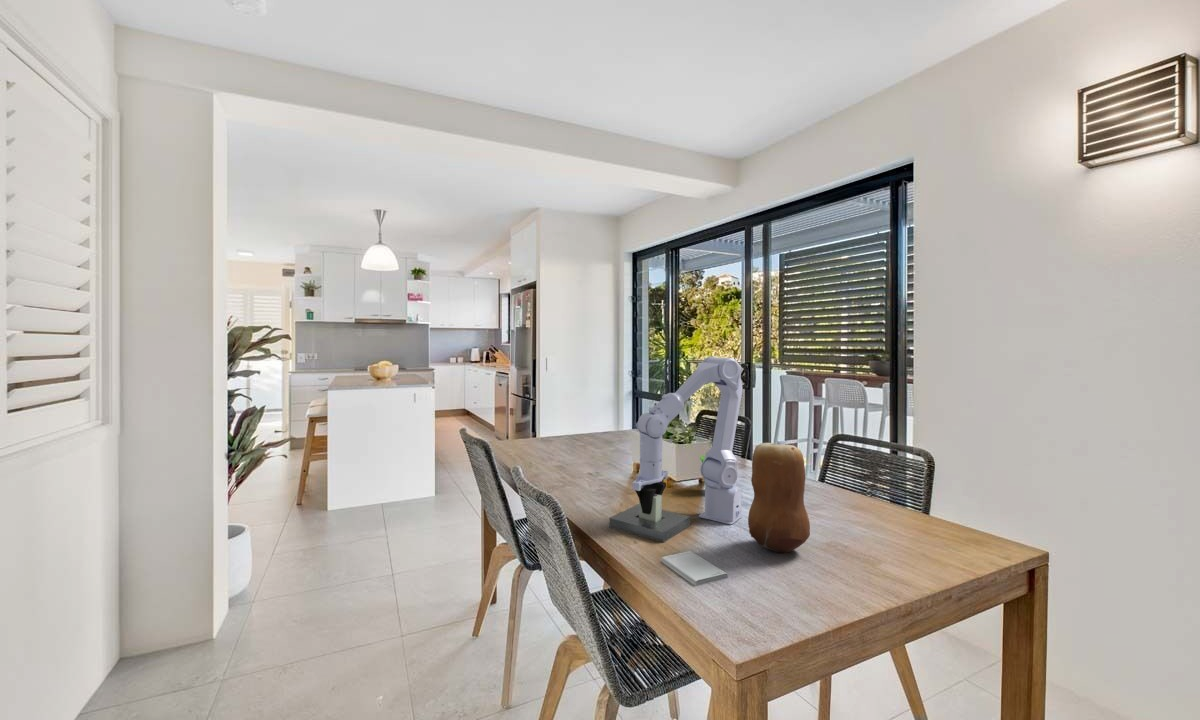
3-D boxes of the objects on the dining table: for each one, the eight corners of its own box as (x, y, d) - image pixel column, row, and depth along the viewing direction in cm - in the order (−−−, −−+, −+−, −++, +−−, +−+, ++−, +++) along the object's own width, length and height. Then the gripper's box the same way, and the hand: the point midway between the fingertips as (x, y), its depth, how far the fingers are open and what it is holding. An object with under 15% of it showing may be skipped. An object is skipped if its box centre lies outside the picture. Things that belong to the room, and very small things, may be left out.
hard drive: (727, 573, 105) (691, 549, 116) (695, 581, 102) (661, 556, 113) (727, 580, 105) (691, 557, 116) (695, 589, 102) (660, 563, 113)
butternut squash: (781, 535, 128) (783, 436, 127) (822, 556, 116) (825, 447, 115) (735, 542, 123) (737, 439, 122) (772, 566, 111) (775, 451, 110)
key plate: (689, 525, 134) (690, 516, 134) (663, 542, 123) (663, 532, 123) (638, 512, 144) (638, 504, 144) (609, 527, 132) (609, 517, 132)
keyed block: (644, 521, 136) (645, 490, 136) (661, 525, 133) (661, 494, 133) (638, 524, 134) (639, 493, 133) (655, 529, 131) (656, 496, 130)
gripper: (651, 452, 141) (651, 501, 141) (622, 462, 129) (621, 515, 130) (674, 456, 136) (673, 506, 137) (646, 467, 125) (645, 521, 125)
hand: (650, 511), depth 133 cm, fingers closed on keyed block, 3 cm apart
